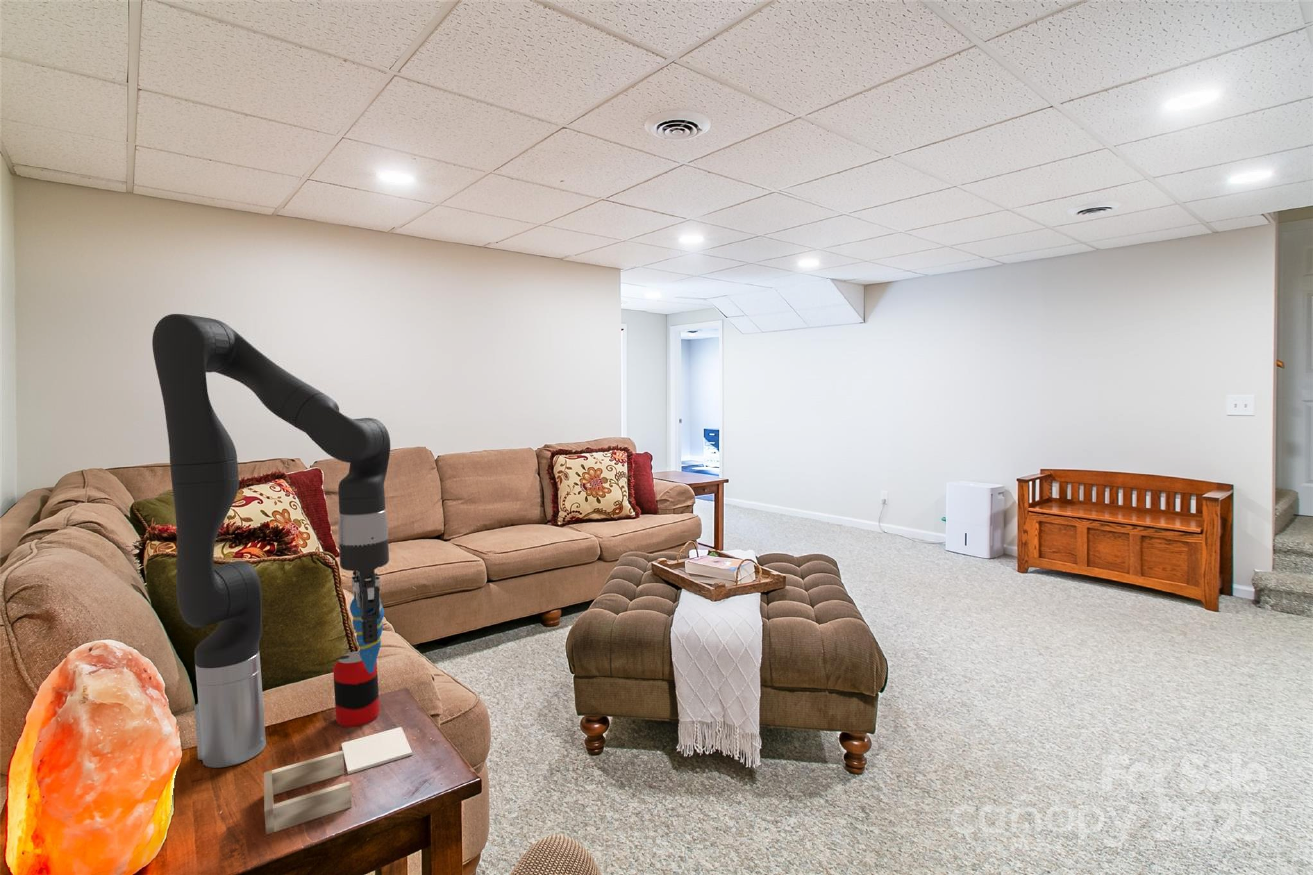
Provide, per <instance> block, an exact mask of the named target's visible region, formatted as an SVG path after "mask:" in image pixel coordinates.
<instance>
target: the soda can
mask: <svg viewBox="0 0 1313 875" xmlns="http://www.w3.org/2000/svg"><path fill="white" fill-rule="evenodd" d="M332 672H333V674H332V675H333V690H334V691H333V692H334V704H335V721H336V723H337V724H338V725H339V726H341V727H346V728H352V727H360V726H362V725H363V726H364V725H366V724H368V723H370V722H372V721H373V720H375V719H376V718H377V717H378V715H379V714H380V696H379V692H380V691H379V675H378V660H376V663H375V667H374V671H373V673H368V671H367V669H366V667H365V665H364V663H363V661H362V659H361V657H360V654H359V650H356V651H351V652H347V653H345V654H343V655H341V656H340V657H338V659H337V661H336V662H335V664H334V665H333V667H332Z"/></svg>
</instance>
